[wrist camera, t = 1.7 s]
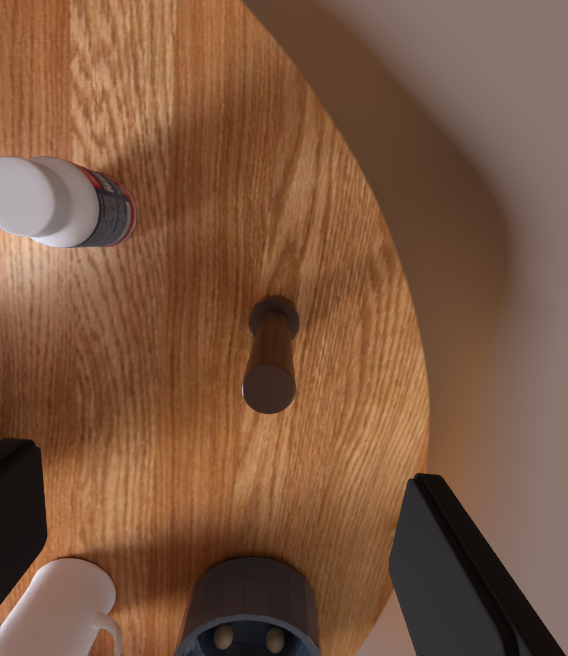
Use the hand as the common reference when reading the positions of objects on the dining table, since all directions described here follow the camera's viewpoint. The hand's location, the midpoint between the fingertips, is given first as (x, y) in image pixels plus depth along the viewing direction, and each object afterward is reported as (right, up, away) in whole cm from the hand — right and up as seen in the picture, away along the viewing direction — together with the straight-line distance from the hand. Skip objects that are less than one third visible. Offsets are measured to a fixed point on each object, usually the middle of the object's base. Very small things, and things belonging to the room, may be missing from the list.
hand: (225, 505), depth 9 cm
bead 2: (+1, -28, +27) cm, 39 cm away
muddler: (+1, +5, +20) cm, 21 cm away
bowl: (-2, -25, +27) cm, 37 cm away
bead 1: (-5, -27, +26) cm, 38 cm away
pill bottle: (-12, +14, +18) cm, 26 cm away
